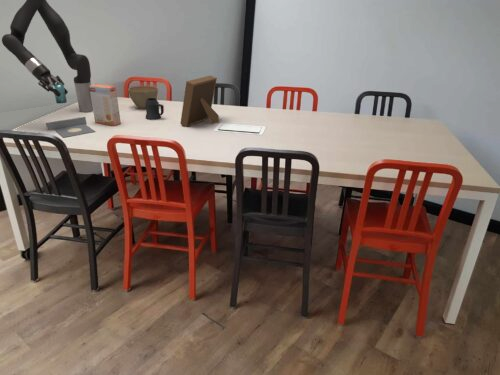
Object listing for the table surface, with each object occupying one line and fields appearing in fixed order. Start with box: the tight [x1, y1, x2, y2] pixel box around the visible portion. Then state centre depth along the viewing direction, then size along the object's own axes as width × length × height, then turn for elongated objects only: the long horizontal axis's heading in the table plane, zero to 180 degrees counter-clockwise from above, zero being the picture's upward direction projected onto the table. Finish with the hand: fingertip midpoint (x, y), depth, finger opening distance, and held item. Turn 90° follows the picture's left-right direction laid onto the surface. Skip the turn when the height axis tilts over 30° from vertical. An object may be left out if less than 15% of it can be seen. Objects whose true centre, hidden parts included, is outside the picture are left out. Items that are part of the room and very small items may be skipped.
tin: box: [53, 83, 67, 104], centre depth 193 cm, size 5×5×9 cm
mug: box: [145, 98, 165, 121], centre depth 219 cm, size 12×9×11 cm
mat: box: [53, 124, 96, 139], centre depth 197 cm, size 16×16×1 cm
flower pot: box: [127, 85, 159, 110], centre depth 240 cm, size 18×18×12 cm
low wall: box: [45, 116, 88, 131], centre depth 202 cm, size 20×1×4 cm, turn 130°
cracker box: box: [89, 83, 122, 127], centre depth 206 cm, size 14×6×21 cm, turn 65°
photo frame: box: [179, 75, 220, 128], centre depth 209 cm, size 15×22×25 cm
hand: (63, 94), depth 193 cm, fingers closed on tin, 5 cm apart
